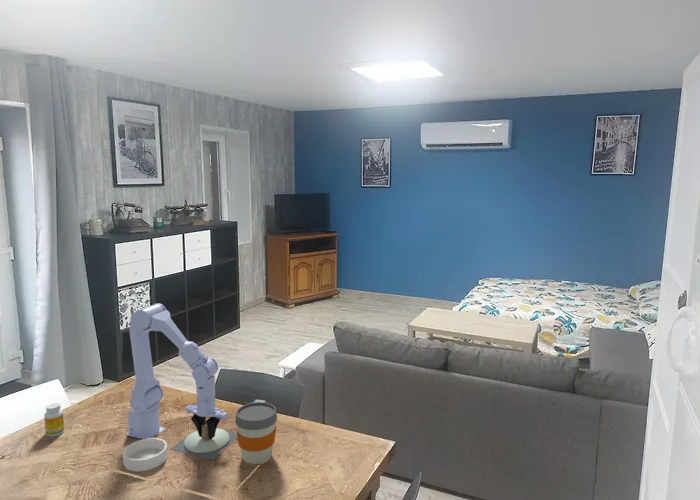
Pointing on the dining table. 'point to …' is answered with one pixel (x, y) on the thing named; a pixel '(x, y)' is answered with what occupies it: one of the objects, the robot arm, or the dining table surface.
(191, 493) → the dining table surface
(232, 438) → the mat
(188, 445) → the lid
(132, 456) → the bowl
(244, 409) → the reusable coffee cup
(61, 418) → the supplement bottle
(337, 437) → the dining table surface
